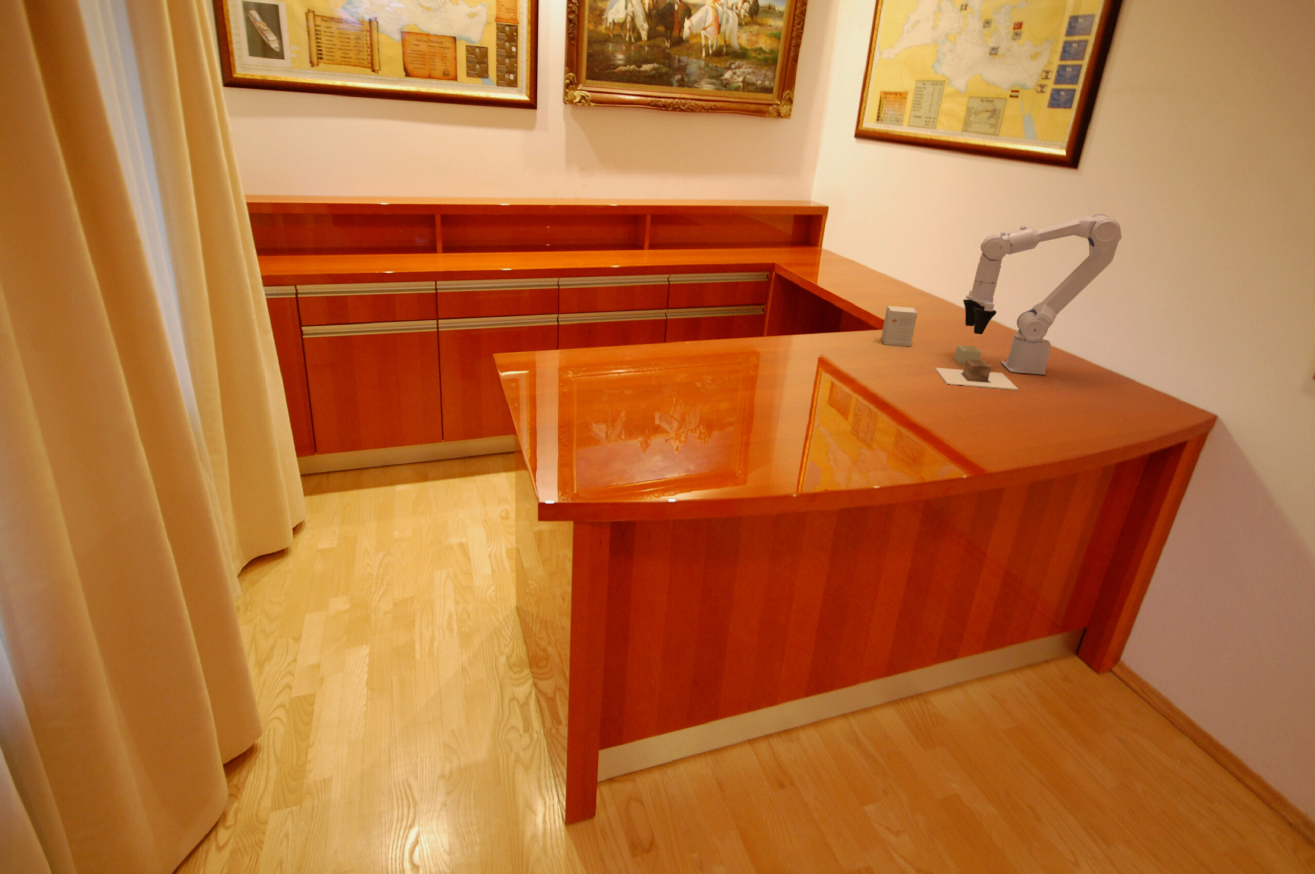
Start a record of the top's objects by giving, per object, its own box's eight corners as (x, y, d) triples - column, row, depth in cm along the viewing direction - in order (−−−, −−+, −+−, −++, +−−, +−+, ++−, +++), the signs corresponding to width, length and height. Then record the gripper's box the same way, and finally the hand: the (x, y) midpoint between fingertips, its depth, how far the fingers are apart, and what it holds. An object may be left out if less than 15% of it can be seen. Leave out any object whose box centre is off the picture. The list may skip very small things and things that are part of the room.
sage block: (971, 359, 214) (974, 346, 212) (977, 365, 209) (981, 352, 207) (953, 358, 214) (957, 345, 212) (959, 364, 209) (963, 350, 207)
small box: (907, 341, 226) (914, 307, 222) (910, 347, 221) (918, 312, 217) (880, 339, 227) (886, 305, 222) (883, 344, 222) (890, 310, 217)
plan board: (1001, 374, 203) (1002, 372, 203) (1017, 390, 192) (1018, 388, 192) (934, 369, 204) (935, 367, 203) (947, 384, 193) (947, 382, 193)
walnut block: (981, 375, 200) (985, 360, 198) (987, 381, 195) (991, 367, 194) (962, 373, 200) (966, 359, 198) (968, 380, 196) (971, 365, 194)
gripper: (962, 274, 208) (951, 321, 214) (979, 286, 195) (967, 336, 201) (988, 276, 208) (976, 323, 214) (1006, 288, 195) (993, 338, 201)
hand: (973, 329), depth 207 cm, fingers open, 7 cm apart
